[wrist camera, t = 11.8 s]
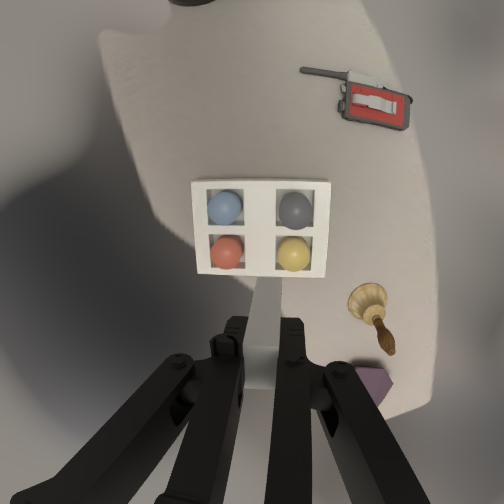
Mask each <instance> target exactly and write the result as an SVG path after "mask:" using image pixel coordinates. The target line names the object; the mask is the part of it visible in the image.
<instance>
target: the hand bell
mask: <svg viewBox="0 0 504 504" xmlns="http://www.w3.org/2000/svg"><path fill="white" fill-rule="evenodd" d="M386 302H387V294H386V291H385V289H384V288H383V287H382V286H380V285H378V284H375V283H367V284H364V285H361V286H359V287H358V288H356V289H355V290H354V291H353V292H352V294H351V296H350V297H349V300H348V309H349V311H350V313H351V314H352V315H353V316H354V317H355V318H357V319H361V320H364V322H365V323H366V324H368V325H374V326H375V328H376V330H377V333H378V334H377V337H378V342H379V344H380V346H381V348H382V349H383V350H384V351H385V352H386V353H387V354H388V355H389V356H392V355H394V354H395V340H394V337H393V335H392V334H391V332H390V331H389V330H388V329H386V328H385V326H384V324H383V321H382V320H383V319H384V317H385V306H386Z"/></svg>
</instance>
